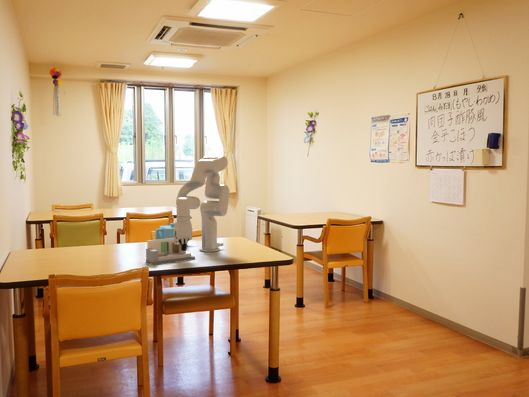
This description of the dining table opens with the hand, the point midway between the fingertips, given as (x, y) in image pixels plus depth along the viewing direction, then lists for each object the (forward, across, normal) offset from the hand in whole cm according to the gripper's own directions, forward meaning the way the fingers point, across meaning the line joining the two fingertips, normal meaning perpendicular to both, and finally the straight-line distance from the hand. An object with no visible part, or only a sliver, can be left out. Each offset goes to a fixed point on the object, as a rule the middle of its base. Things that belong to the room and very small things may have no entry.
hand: (183, 250), depth 289 cm
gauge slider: (+4, +6, -2) cm, 8 cm away
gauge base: (+5, +7, -2) cm, 9 cm away
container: (+5, -17, -43) cm, 47 cm away
